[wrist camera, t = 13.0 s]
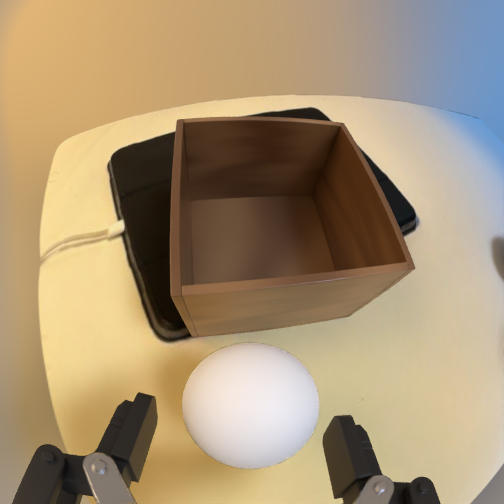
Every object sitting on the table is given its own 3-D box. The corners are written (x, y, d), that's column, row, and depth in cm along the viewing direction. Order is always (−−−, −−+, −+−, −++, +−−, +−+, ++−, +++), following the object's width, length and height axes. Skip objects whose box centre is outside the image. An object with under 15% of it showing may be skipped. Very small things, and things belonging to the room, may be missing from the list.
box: (192, 337, 20) (170, 296, 11) (185, 200, 26) (176, 119, 17) (349, 316, 22) (415, 268, 13) (313, 195, 28) (343, 122, 19)
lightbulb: (230, 451, 16) (240, 513, 6) (181, 387, 18) (137, 385, 8) (296, 406, 18) (370, 417, 8) (249, 344, 20) (277, 298, 10)
